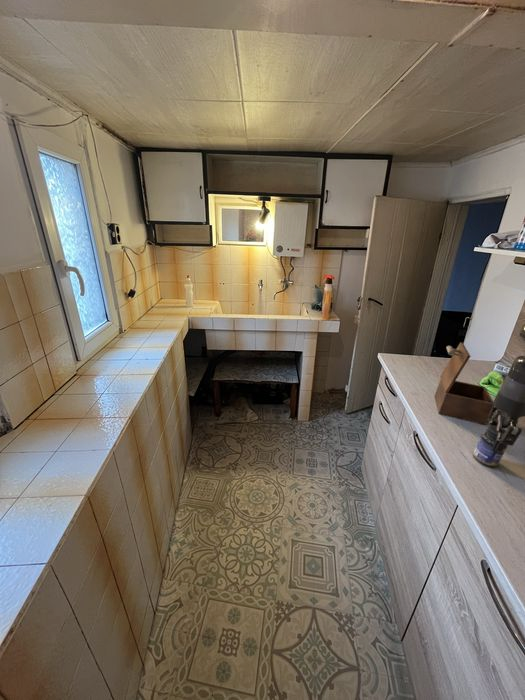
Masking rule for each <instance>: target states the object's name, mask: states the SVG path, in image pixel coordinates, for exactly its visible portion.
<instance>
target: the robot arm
mask: <svg viewBox="0 0 525 700" xmlns="http://www.w3.org/2000/svg"><path fill="white" fill-rule="evenodd" d="M519 339H520V340H521V342H522V343H524V344H525V323H524V324H523V326H521V328H520V331H519ZM488 418H489V419H488V426H487V429H486V431H485V432H487V431H488V428H489V426H497V431H498V436H497V439H496V441H495V443H494V445H493V447H492V449H493V451H496V452H503V450H504V448H505V446H506V444H507V445H508V446H511V447H513V446H514V444H515V443H516V441H517V440H518V438H519V437H520V435H521V434H522V432H523V428H520V427H518V426H517V425H518V422H519V419H520V418H525V354H521V355H518V356H517V357H516V358H515V359H514V361H513V362H512V364H511V366H510V368H509V371H508V372H507V374H506V376H505V378H504V379H503V380H502V383H501V385H500V387H499V388H498V391H497V393H496V396H495V397H494V400H493V405H492V408H491V410H490V413H489V415H488ZM501 428H503V429H504V430H502V429H501ZM502 433H504V434H503V436H502Z"/></svg>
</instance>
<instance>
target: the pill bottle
mask: <svg viewBox="0 0 525 700" xmlns="http://www.w3.org/2000/svg"><path fill="white" fill-rule="evenodd" d="M488 426H489V425H488ZM487 428H488V427H487ZM501 429H502V430H505V428H502V427H501ZM503 434H504V433H502V436H503ZM497 436H498V431H497V426H489V428H488V431H487V432H486V431H484V432H483V433H482V434H481V435H480V437H479V440H478V441H477V444H476V446H475V448H474V451H473V452H472V455H473V456H472V457H473V458H474V459H475V461H476V462H478V464H480V465H483V466H485V467H487V468H497V466H498V465H499V463H500V461H501V460H502V458H503V456H504V454H505V452H506V450H507V448H508V446H509V445H507V444H506V446H505V448H504V450H503V452H496V451H493V449H492V447H493V445H494V443H495V441H496V439H497Z"/></svg>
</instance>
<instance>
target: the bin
mask: <svg viewBox="0 0 525 700" xmlns="http://www.w3.org/2000/svg"><path fill="white" fill-rule="evenodd" d="M434 401H435V404H436V410H437V413H438V415H441V416H446V417H450V418H455V419H459V420H462V421H467V422H471V423H474V424H475V423H476V424H479V425H484V426H486V425H487V423H488V422H489V420H490V419H489V418H488V415H489V413H490V410H491V408H492V405H493V402H494V400H493V398H492V396H491V394H490V393H489V390H488V389H487V388H486V386H483V385H479V384H475V383H470V382H463V381H459V380H455V382H454V384H453V385H452V387H451V388H450V390H449V392H448V393H446V392H445V390H444V387H443V383H442V380H441V378H440V380H439V382H438V385H437V388H436V391H435V393H434Z"/></svg>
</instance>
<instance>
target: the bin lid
mask: <svg viewBox="0 0 525 700" xmlns="http://www.w3.org/2000/svg"><path fill="white" fill-rule="evenodd" d="M445 347H446V351H447V354H448V355H449V356H451V358H450V359H449V361H448V362H447V364H446V366H445V367H444V370H443V371H442V372H441V374H440V379H441V380H442V383H443V387H444V390H445V392H446V393H448V392H449V390H450V388H451V387H452V385H453V384H454V382H455V381H457V379H458V377H459V375H460V374H461V373H462V371H463V369H464V367H465V366H466V365H467V363H468V361H469V360H470V358H471V354H470V353H469V351H468V349H467V348H466V346H465V344H464V342H462V341H461V342H459V344H458V345H457V347H456V348H453V346H451V345H447V346H445Z"/></svg>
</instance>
